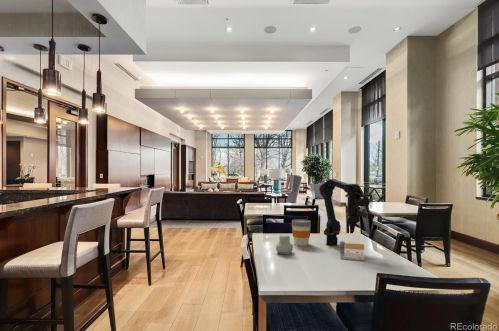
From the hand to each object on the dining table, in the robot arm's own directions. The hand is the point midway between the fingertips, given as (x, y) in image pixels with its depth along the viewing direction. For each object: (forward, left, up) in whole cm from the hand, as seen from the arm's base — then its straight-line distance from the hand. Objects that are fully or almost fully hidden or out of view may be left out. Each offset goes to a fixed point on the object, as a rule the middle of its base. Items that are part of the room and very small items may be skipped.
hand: (352, 231), depth 166 cm
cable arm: (-1, -6, -9) cm, 11 cm away
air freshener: (-38, -14, -12) cm, 42 cm away
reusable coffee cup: (-31, +10, -12) cm, 35 cm away
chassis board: (-1, -6, -12) cm, 13 cm away
